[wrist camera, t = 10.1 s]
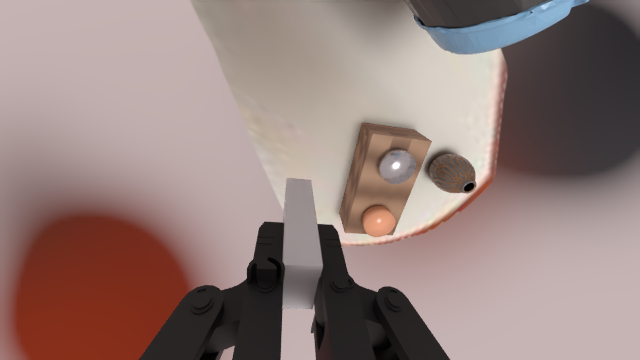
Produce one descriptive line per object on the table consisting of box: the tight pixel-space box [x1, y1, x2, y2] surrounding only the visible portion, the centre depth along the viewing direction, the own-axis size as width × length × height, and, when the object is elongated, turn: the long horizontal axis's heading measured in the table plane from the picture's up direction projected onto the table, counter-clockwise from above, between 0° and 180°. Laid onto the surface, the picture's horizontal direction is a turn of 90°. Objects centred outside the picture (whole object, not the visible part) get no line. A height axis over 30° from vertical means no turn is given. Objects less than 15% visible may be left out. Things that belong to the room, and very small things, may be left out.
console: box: [339, 123, 432, 235], centre depth 43 cm, size 20×10×6 cm, turn 171°
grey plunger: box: [377, 148, 416, 184], centre depth 39 cm, size 6×6×6 cm
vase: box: [429, 154, 476, 193], centre depth 42 cm, size 7×7×9 cm
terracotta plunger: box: [362, 206, 395, 237], centre depth 44 cm, size 6×6×6 cm
